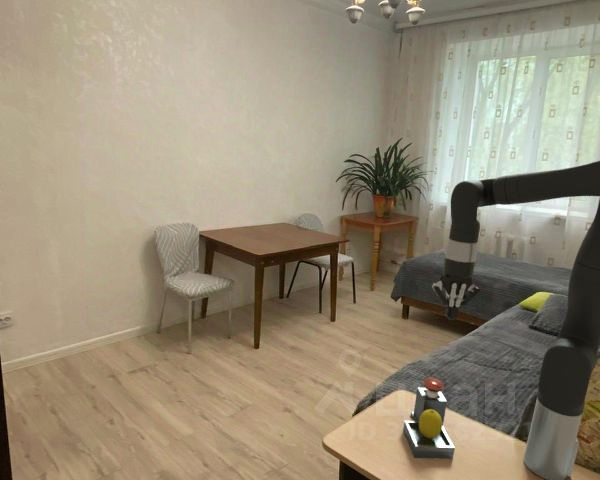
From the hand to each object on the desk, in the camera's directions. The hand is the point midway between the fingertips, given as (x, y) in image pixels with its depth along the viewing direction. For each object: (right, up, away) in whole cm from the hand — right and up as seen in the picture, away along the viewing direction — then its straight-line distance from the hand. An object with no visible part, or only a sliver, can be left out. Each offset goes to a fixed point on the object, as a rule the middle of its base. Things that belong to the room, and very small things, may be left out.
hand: (450, 318), depth 114 cm
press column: (-6, -29, +1) cm, 30 cm away
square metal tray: (-8, -31, -7) cm, 33 cm away
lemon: (-8, -29, -7) cm, 31 cm away
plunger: (-6, -27, +1) cm, 27 cm away
